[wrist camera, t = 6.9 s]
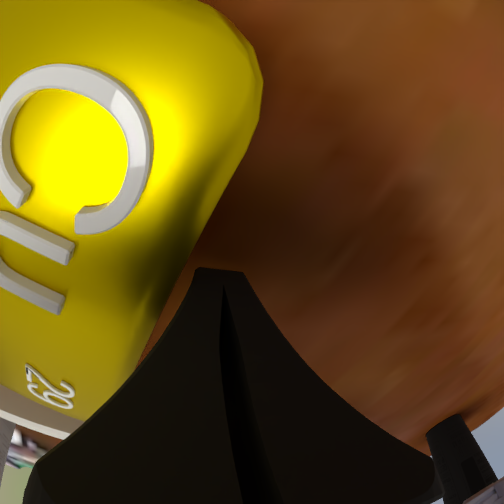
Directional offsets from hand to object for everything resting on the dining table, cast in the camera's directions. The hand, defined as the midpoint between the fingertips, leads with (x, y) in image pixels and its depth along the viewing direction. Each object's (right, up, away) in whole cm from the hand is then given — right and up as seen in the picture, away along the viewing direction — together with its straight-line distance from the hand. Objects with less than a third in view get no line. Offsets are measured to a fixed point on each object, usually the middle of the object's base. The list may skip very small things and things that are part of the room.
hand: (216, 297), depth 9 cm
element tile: (-9, +4, 0) cm, 10 cm away
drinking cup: (+24, -19, +18) cm, 35 cm away
